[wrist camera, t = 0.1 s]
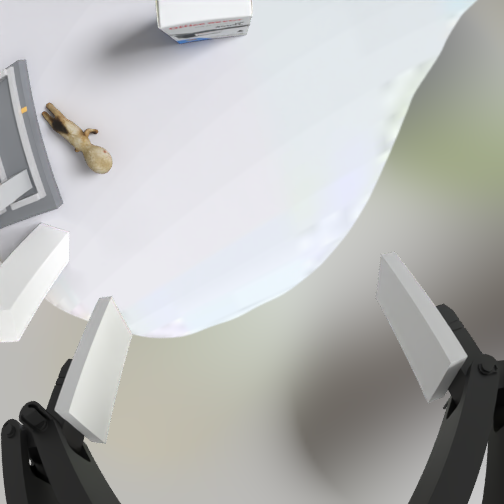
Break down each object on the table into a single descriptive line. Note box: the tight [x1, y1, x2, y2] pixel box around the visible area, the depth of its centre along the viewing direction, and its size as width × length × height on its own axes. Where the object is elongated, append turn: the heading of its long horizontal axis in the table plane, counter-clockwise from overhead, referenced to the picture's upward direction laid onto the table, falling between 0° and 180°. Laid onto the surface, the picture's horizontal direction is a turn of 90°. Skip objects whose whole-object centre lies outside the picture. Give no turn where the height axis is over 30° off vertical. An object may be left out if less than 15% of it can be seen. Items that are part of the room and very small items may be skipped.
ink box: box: [155, 0, 253, 44], centre depth 23 cm, size 8×5×12 cm, turn 95°
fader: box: [0, 169, 32, 212], centre depth 30 cm, size 3×4×10 cm
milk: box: [0, 223, 69, 342], centre depth 33 cm, size 6×6×22 cm
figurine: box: [42, 103, 112, 174], centre depth 32 cm, size 4×4×15 cm
